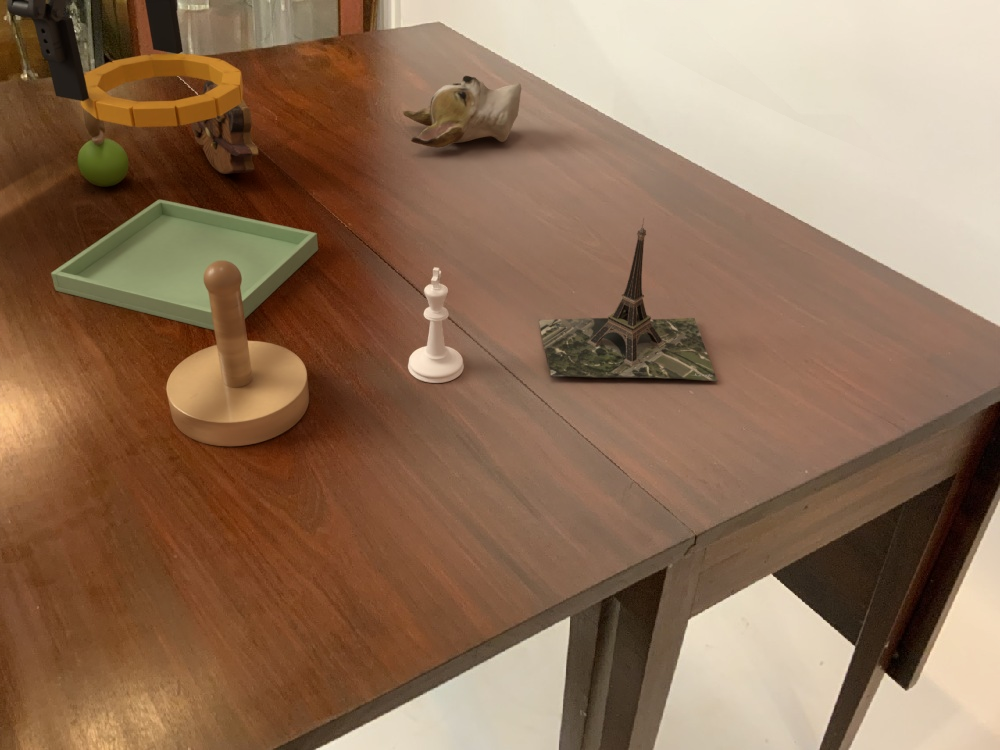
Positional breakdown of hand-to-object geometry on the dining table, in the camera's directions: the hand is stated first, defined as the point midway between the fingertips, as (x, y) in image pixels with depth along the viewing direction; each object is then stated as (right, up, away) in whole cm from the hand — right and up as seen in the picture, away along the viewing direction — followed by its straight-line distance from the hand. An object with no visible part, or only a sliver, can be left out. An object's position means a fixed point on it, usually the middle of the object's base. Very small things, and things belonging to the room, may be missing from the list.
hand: (123, 73), depth 86 cm
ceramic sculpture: (+28, +4, +42) cm, 50 cm away
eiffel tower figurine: (+45, -25, +4) cm, 51 cm away
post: (+12, -29, -5) cm, 32 cm away
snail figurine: (-12, -4, +27) cm, 30 cm away
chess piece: (+28, -26, +1) cm, 38 cm away
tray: (+2, -16, +12) cm, 20 cm away
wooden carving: (0, -2, +32) cm, 32 cm away
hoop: (+4, -2, 0) cm, 4 cm away
